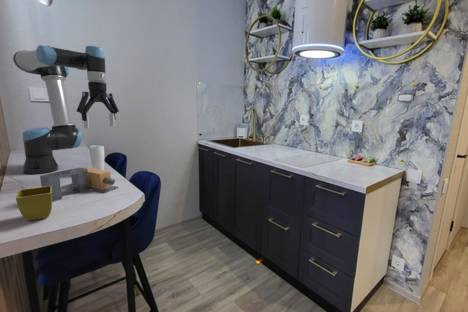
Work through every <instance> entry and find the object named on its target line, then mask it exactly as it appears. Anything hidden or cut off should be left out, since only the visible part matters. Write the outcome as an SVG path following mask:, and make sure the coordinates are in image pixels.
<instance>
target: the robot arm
mask: <svg viewBox="0 0 468 312" xmlns="http://www.w3.org/2000/svg"><path fill="white" fill-rule="evenodd" d="M12 60H13V63H14V65H15V66H16V67H17V68H18V69H20V71H23V72H25V73H28V74H32V75H39V76H40V79H41V80H42V81H43V82H44V83H45V86H46V92H47V96H48V98H47V99H48V102H49V106H50V111H51V116H52V121H53V124H52V126H51V128H50V127H48V126H47V127H46V126H45V127H44V126H43V127H34V128H33V127H32V128H29V129H26V130H23V132H22V142H23V146H24V147H23V148H24V155H25V159H24V164H23V166H22V172H23V174H25V175H41V174H47V173H48V174H50V173H54V172H55V171H56V172H57V171H58V170H59V165H58V163H57V161H56V159H55V157H54V153H53V151H61V150H68V149H69V150H71V149H76V148H79V147H80V146H81V144H82V141H83V134H82V131H81V129H80V128H77V127H76V124H74V123H73V121H72V118H71V113H70V111H71V110H70V107H69V102H68V98H67V94H66V89H65V88H66V87H65V83H64V82H65V81H66V78H67V77H68V76H69V68H71V69H77V70H81V71H86V72H87V81H88V83H87V84H88V85H87V86H88V91H82V94H81V99H80V100H79V104H78V106H77V108H76V112H77V113H79V114H80V115H81V120H82V121H83V128H84V129H90V116H89V115H90V114H89V113H88V112H89V111H90V109H92V107H93V105H94V104H95V103H102V104H103V105H104V106H105V107H106V108H107V110H108V111H109V113H108V115H109V126H110V127H115V126H116V123H115V122H116V121H115V120H116V114H118V113H119V112H120V110H119V108H118V106H117V104H116V102H115V99H114V98H113V93H111V92H109V93H108V92H107V76H106V56H105V50H104V49H103V48H102V47H100V46H96V45H86V46H85V51H84V52H79V51H75V50H70V49H64V48H63V49H62V48H58V47H53V46H51V45H44V44H43V45H41V44H40V45H37V48H36V49H35V50H26V49H24V50H18V51H16V52H15V53H14V54H13V57H12Z"/></svg>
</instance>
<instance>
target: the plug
mask: <svg viewBox="0 0 468 312" xmlns="http://www.w3.org/2000/svg"><path fill="white" fill-rule="evenodd" d="M81 168H86V169H87V170H88V181H89V187H92V188H96V189H101V190H102V189H105V188H108V187H111V185H112V186H114V184H115V183H116V180H115V178H111V171H109V170H105V169H104V170H99V169H94V168H93V167H87V166H82V167H81Z"/></svg>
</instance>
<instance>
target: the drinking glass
mask: <svg viewBox="0 0 468 312" xmlns="http://www.w3.org/2000/svg"><path fill="white" fill-rule="evenodd" d="M89 155H90V161H91V162H90V163H91V168H94V169H99V170H104V171H105V146H104V145H100V144H96V145H94V144H93V145H90V146H89Z"/></svg>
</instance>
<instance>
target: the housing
mask: <svg viewBox="0 0 468 312" xmlns="http://www.w3.org/2000/svg"><path fill="white" fill-rule="evenodd" d="M66 177H70V178H71V184H72V185H71V186H72V191H73V192H74V193H75V192H76V193H79V194H82V193H84V192H88V191H90V189H89V181H88V170H87V169H86V168H82V167H80V166H79V167H76V168H75V167H74V168H70V169H65V170H61V171H56V172H50V173H48V174H47V173H45V174H43V175H39V178H40V187H45V186H52V203H53V202H56V201H59V200H63V196H62V187H61V179H62V178H66Z"/></svg>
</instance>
